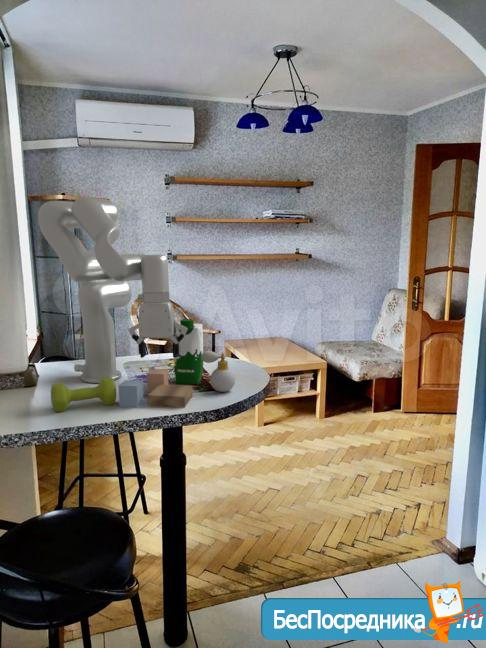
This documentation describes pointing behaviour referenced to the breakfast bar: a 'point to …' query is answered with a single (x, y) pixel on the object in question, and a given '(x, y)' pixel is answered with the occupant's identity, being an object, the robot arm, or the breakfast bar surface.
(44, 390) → the breakfast bar surface
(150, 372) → the terracotta block
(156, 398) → the walnut base
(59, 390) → the dumbbell
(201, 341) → the milk carton
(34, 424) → the breakfast bar surface
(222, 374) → the perfume bottle
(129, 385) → the slate block
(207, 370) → the breakfast bar surface
